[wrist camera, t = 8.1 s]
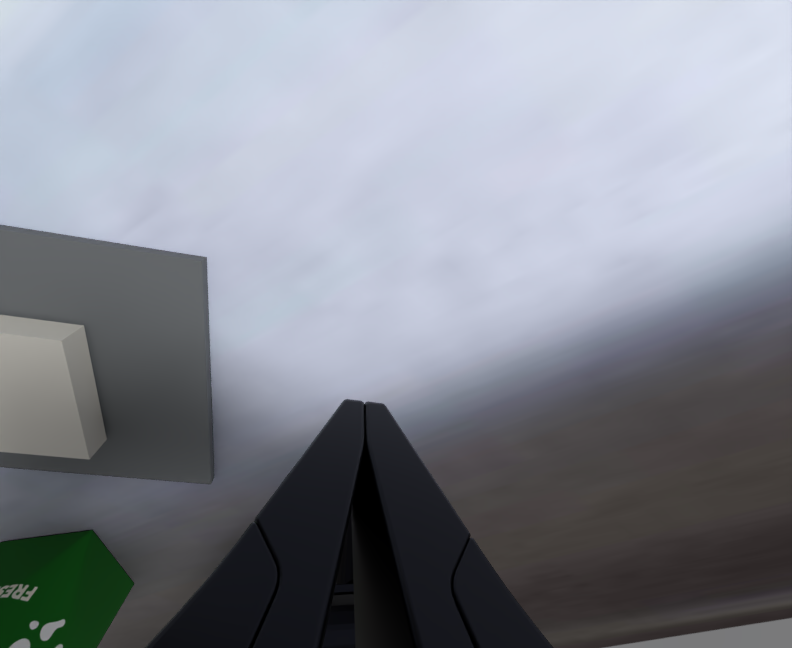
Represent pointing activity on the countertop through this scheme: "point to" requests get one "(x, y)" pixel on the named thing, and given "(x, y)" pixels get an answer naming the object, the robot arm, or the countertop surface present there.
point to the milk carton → (59, 591)
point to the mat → (124, 347)
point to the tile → (47, 390)
